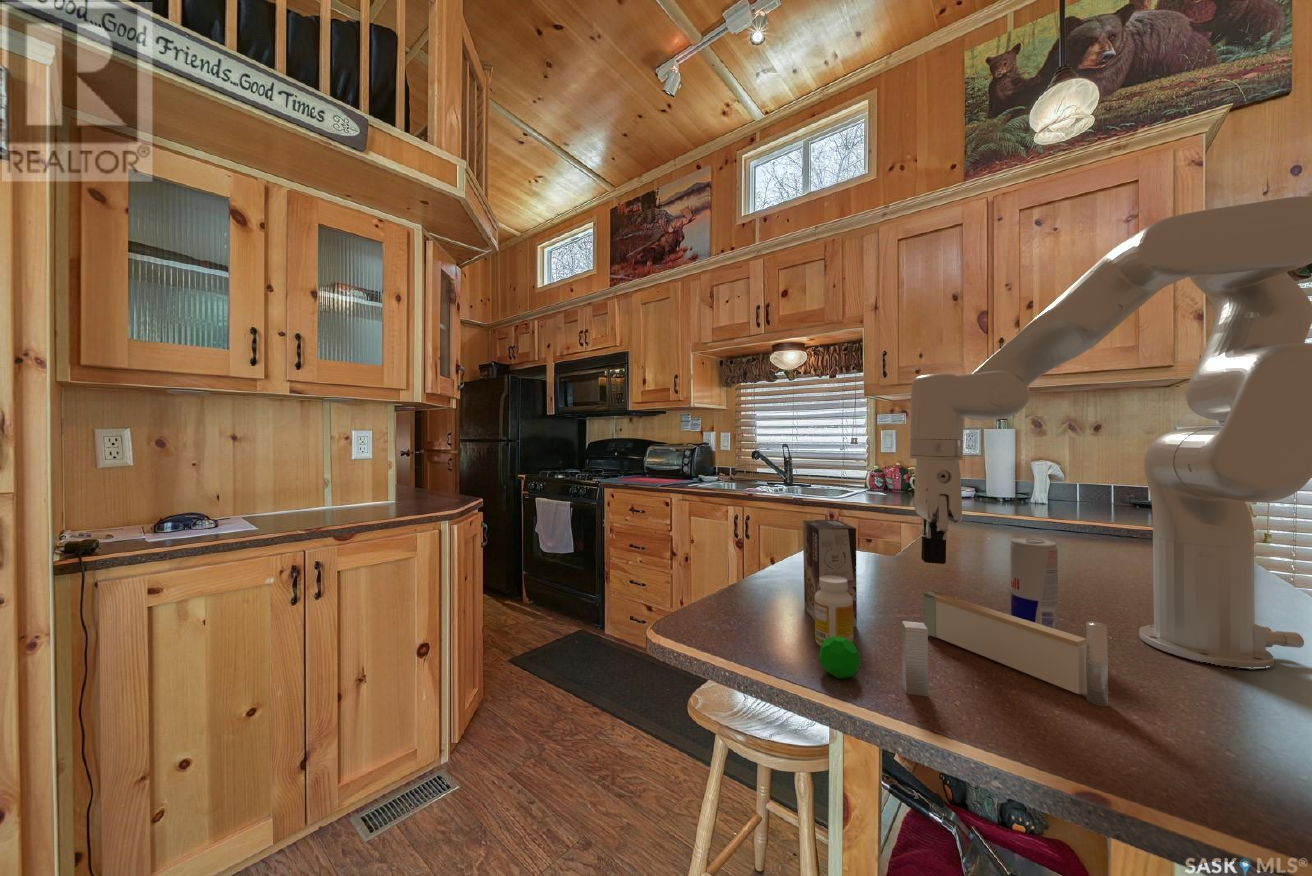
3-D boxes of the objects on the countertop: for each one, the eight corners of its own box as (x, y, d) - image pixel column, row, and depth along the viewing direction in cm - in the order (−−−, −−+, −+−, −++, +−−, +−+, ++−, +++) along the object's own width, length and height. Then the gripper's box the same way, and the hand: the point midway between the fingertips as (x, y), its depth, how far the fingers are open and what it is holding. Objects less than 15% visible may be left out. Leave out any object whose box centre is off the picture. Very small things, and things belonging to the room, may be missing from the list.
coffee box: (858, 627, 78) (857, 528, 78) (818, 627, 78) (817, 528, 78) (838, 607, 87) (837, 518, 87) (802, 607, 87) (802, 518, 87)
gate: (1087, 691, 57) (1086, 638, 57) (1077, 694, 57) (1077, 641, 57) (933, 630, 75) (932, 591, 75) (924, 632, 75) (923, 592, 75)
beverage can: (1048, 634, 74) (1047, 537, 74) (1065, 650, 69) (1064, 545, 69) (1005, 630, 76) (1004, 535, 76) (1019, 645, 71) (1018, 543, 71)
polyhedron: (831, 663, 66) (831, 628, 66) (867, 676, 62) (866, 639, 62) (812, 675, 63) (811, 638, 63) (848, 689, 59) (847, 650, 59)
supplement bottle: (854, 639, 74) (853, 575, 74) (852, 654, 69) (851, 586, 69) (817, 634, 76) (816, 572, 76) (812, 647, 71) (812, 581, 71)
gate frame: (1099, 698, 57) (1098, 621, 57) (1115, 709, 54) (1114, 628, 54) (900, 685, 60) (899, 612, 60) (907, 695, 58) (906, 619, 58)
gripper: (978, 452, 71) (975, 577, 71) (948, 449, 85) (945, 553, 85) (921, 451, 73) (918, 572, 73) (901, 448, 87) (899, 549, 87)
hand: (933, 561), depth 79 cm, fingers closed
